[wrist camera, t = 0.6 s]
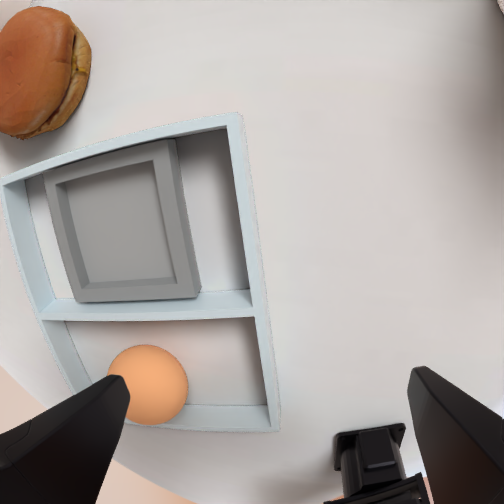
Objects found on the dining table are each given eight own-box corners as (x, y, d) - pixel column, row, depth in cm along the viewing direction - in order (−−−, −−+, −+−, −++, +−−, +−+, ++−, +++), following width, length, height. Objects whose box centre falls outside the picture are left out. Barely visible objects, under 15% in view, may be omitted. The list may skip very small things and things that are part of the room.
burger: (101, 113, 18) (58, 110, 14) (13, 150, 19) (-29, 157, 15) (93, -6, 15) (57, -27, 11) (7, 45, 16) (-31, 38, 12)
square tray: (201, 286, 21) (196, 297, 20) (85, 293, 22) (75, 302, 21) (175, 139, 18) (166, 139, 17) (55, 170, 19) (42, 173, 18)
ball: (203, 389, 24) (186, 445, 19) (138, 386, 25) (112, 435, 20) (186, 328, 22) (159, 383, 17) (116, 329, 23) (79, 375, 18)
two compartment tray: (280, 409, 24) (279, 431, 22) (95, 399, 27) (85, 416, 24) (242, 115, 17) (236, 111, 15) (18, 174, 20) (-4, 179, 17)
